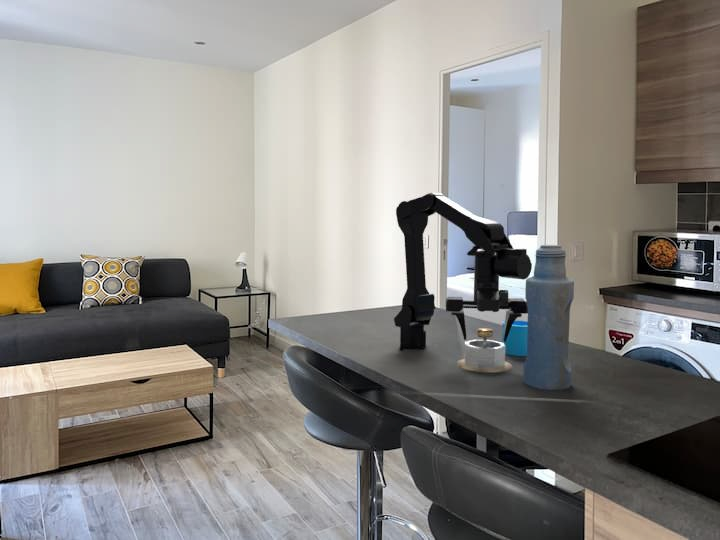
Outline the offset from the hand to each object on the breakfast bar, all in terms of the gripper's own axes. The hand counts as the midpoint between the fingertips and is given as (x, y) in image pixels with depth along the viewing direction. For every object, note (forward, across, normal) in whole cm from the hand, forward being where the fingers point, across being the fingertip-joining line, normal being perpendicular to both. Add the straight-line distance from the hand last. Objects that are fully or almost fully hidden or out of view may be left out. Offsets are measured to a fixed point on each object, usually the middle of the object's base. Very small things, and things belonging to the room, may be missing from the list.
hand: (484, 340), depth 134 cm
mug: (+7, +9, +16) cm, 20 cm away
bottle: (+6, +12, -13) cm, 19 cm away
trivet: (+6, 0, 0) cm, 6 cm away
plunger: (+5, 0, 0) cm, 5 cm away
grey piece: (+6, 0, +2) cm, 6 cm away
